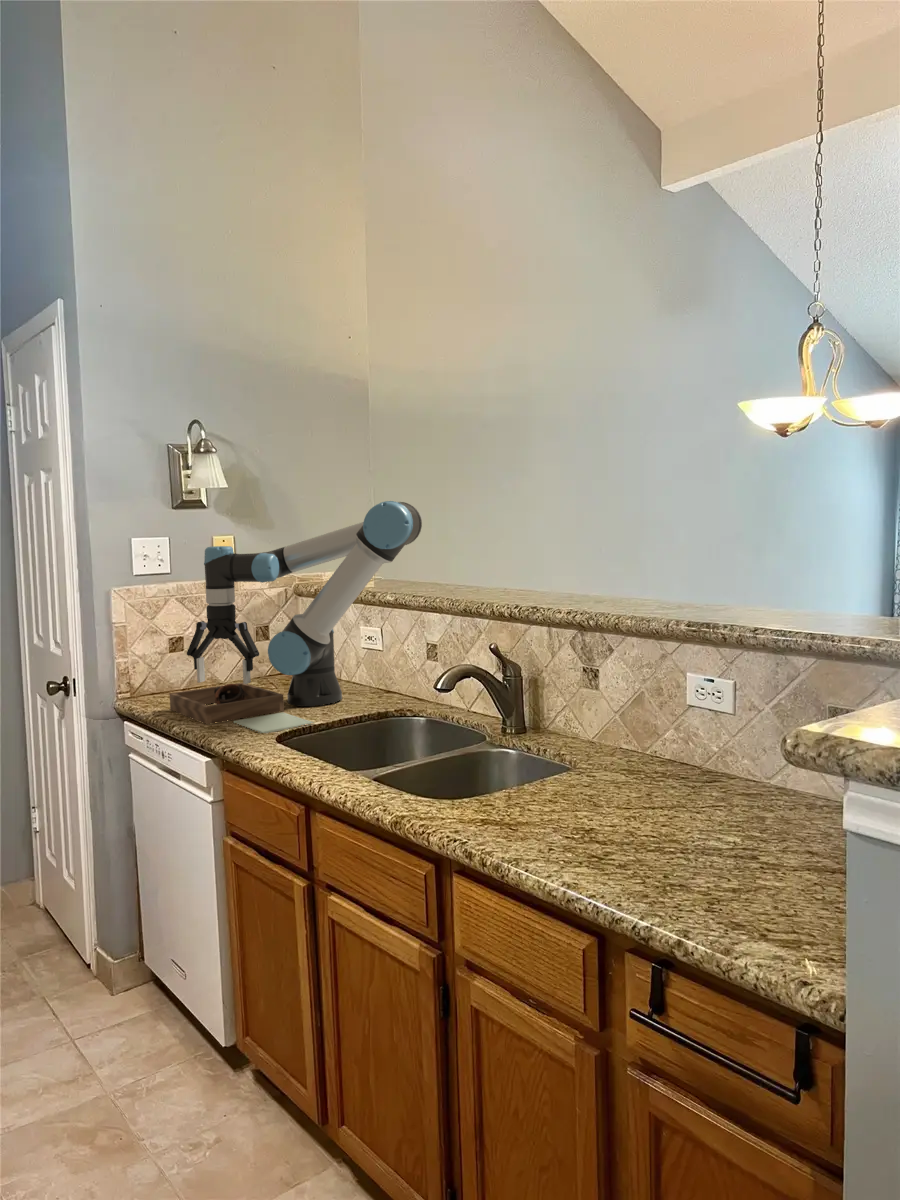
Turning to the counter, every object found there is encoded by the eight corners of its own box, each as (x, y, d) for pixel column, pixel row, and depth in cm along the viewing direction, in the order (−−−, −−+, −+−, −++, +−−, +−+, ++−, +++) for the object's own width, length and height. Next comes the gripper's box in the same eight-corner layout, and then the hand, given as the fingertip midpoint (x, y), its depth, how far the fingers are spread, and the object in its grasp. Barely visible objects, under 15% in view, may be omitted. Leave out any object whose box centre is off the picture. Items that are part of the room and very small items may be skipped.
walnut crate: (283, 711, 240) (283, 694, 239) (207, 724, 226) (206, 707, 226) (243, 698, 259) (242, 682, 258) (170, 709, 245) (169, 693, 245)
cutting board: (313, 724, 224) (313, 722, 224) (262, 734, 215) (262, 732, 215) (283, 714, 236) (283, 712, 236) (233, 722, 228) (233, 721, 228)
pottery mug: (259, 709, 245) (252, 687, 240) (234, 731, 239) (226, 708, 234) (229, 694, 251) (222, 672, 246) (203, 715, 245) (196, 692, 240)
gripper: (269, 603, 240) (272, 681, 242) (186, 602, 247) (189, 678, 249) (257, 606, 233) (260, 686, 235) (171, 605, 239) (175, 683, 241)
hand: (224, 682), depth 242 cm, fingers open, 13 cm apart
